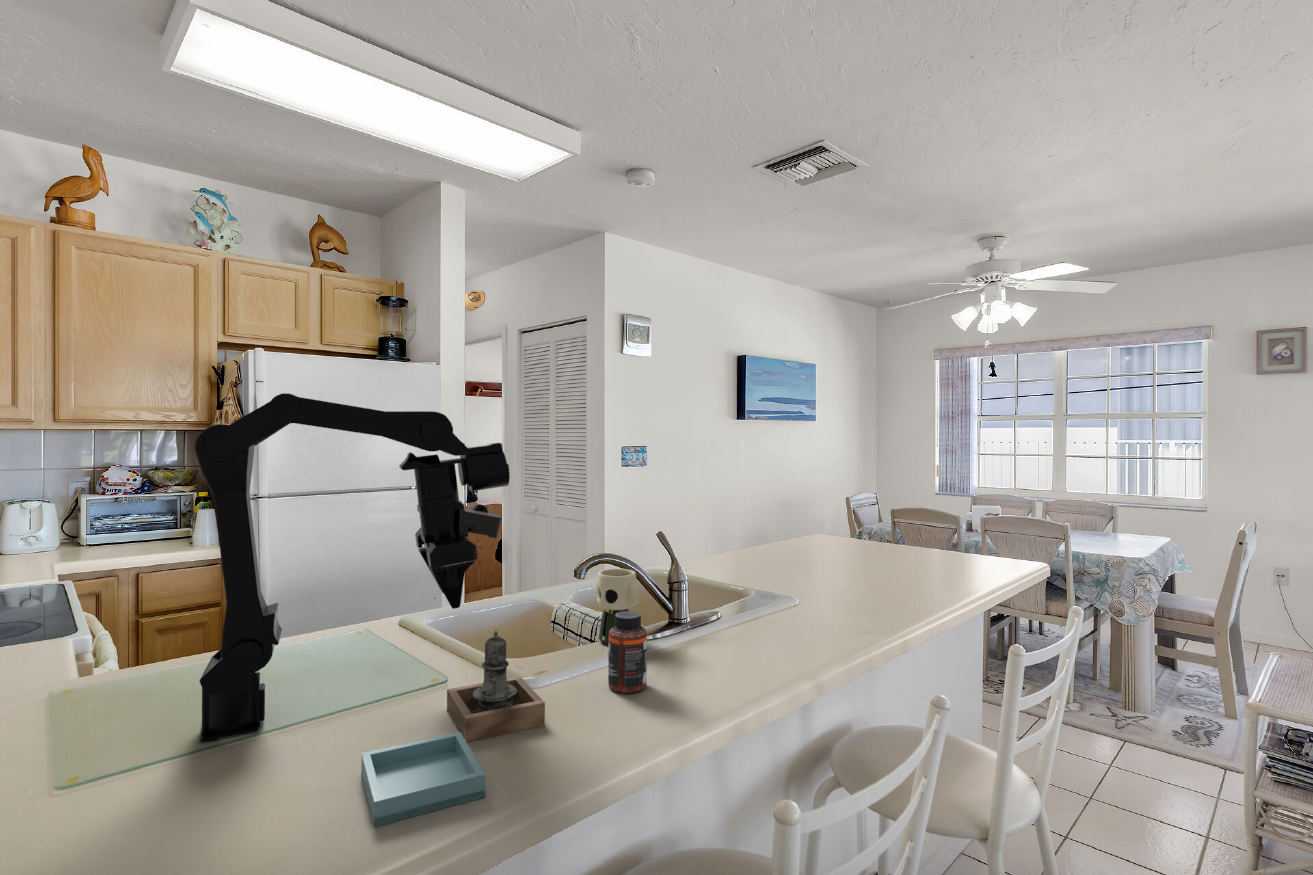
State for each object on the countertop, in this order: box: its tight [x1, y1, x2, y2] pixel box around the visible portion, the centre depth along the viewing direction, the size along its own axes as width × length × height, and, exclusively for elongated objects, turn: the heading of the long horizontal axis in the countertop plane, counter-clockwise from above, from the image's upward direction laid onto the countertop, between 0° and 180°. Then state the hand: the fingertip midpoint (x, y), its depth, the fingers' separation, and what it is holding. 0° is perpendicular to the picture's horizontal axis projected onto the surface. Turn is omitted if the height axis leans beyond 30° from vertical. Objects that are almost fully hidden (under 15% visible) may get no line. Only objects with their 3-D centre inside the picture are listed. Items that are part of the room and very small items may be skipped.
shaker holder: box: [446, 676, 546, 743], centre depth 90 cm, size 10×10×3 cm
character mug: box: [596, 568, 639, 644], centre depth 123 cm, size 11×7×13 cm, turn 46°
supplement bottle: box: [607, 610, 648, 694], centre depth 102 cm, size 6×6×11 cm
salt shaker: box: [473, 630, 517, 712], centre depth 90 cm, size 6×6×12 cm
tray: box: [360, 731, 486, 828], centre depth 73 cm, size 11×11×2 cm
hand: (450, 599), depth 98 cm, fingers open, 9 cm apart
